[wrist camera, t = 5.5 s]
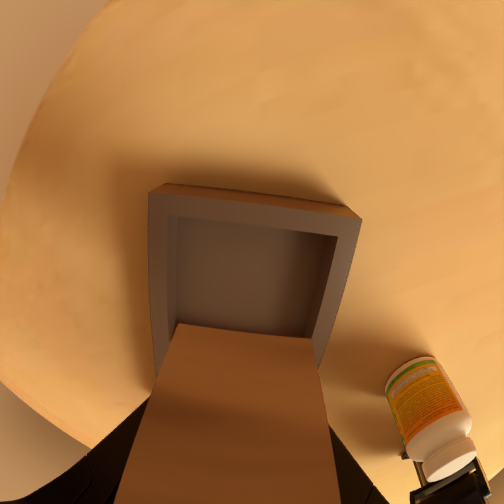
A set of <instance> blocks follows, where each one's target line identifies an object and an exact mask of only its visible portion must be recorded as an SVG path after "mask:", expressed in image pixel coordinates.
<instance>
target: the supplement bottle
mask: <svg viewBox="0 0 504 504" xmlns="http://www.w3.org/2000/svg"><path fill="white" fill-rule="evenodd" d="M385 394H386V397H387V400H388V403H389V405H390V408H391V410H392V413H393V416H394V418H395V421H396V424H397V426H398V429H399V432H400V435H401V437H402V440H403V443H404V446H405V449H406V452H407V454H408V456H409V458H410V459H412V460H413V461H416V462H424V463H423V464H422V468H423V472H424V475H425V478H426V480H427V481H428V482H434V481H438V480H440V479H443V478H445V477H448V476H450V475H452V474H453V473H455V472H457V471H458V470H460V469H461V468H463V467H464V466H466V465H467V464H468V463H469V462H470V461H472V460H473V459H474V457H475V456H476V455H477V450H476V447H475V445H474V442H473V440H471V438H470V437H466V436H467V435H468V433H469V431H470V429H471V426H472V419H471V416H470V414H469V412H468V410H467V408H466V407H465V405H464V403H463V401H462V399H461V398H460V396H459V394H458V393H457V391H456V389H455V387H454V386H453V384H452V382H451V380H450V379H449V377H448V375H447V374H446V372H445V371H444V369H443V367H442V366H441V364H440V363H439V362H438V360H436V359H435V358H433V357H419V358H416V359H413V360H411V361H409V362H407V363H405V364H404V365H402V366H401V367H399V368H398V369H397V370H396V371H395V372H394V373H393V374H392V375H391V377H390V378H389V380H388V381H387V383H386V386H385Z"/></svg>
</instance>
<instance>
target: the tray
mask: <svg viewBox="0 0 504 504" xmlns="http://www.w3.org/2000/svg"><path fill="white" fill-rule="evenodd" d="M361 223H362V219H361V218H360V217H359V216H358V215H357V214H356V213H354V212H353V211H352V210H351V209H350V208H349V207H348V206H342V205H336V204H330V203H324V202H318V201H312V200H305V199H298V198H292V197H285V196H277V195H270V194H263V193H255V192H247V191H238V190H230V189H221V188H211V187H201V186H191V185H180V184H168V183H165V184H163V185H161V186H159V187H158V188H156V189H154V190H152V191H150V192H149V197H148V272H149V296H150V313H151V327H152V338H153V349H154V359H155V368H156V376H157V377H158V374H159V372H160V369H161V366H162V364H163V361H164V359H165V356H166V353H167V351H168V348H169V346H170V343H171V341H172V338H173V336H174V333H175V331H176V328H177V326H178V323H182V324H188V325H195V326H201V327H208V328H215V329H222V330H230V331H238V332H246V333H255V334H264V335H274V336H284V337H296V338H308V339H311V340H312V345H313V350H314V354H315V359H316V364H317V369H318V368H319V365H320V363H321V360H322V357H323V354H324V351H325V348H326V346H327V343H328V340H329V337H330V334H331V331H332V328H333V325H334V321H335V318H336V315H337V312H338V309H339V305H340V302H341V299H342V295H343V292H344V288H345V285H346V281H347V278H348V274H349V271H350V267H351V263H352V259H353V256H354V252H355V248H356V244H357V240H358V236H359V231H360V227H361Z"/></svg>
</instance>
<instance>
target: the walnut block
mask: <svg viewBox="0 0 504 504" xmlns="http://www.w3.org/2000/svg"><path fill="white" fill-rule="evenodd" d="M114 504H341V500H340V493H339V486H338V480H337V473H336V467H335V461H334V455H333V449H332V443H331V437H330V432H329V426H328V421H327V415H326V410H325V405H324V399H323V394H322V389H321V384H320V379H319V374H318V369H317V364H316V359H315V354H314V350H313V345H312V340H311V339H308V338H296V337H284V336H274V335H264V334H255V333H246V332H238V331H230V330H222V329H215V328H208V327H201V326H195V325H188V324H182V323H178V326H177V328H176V331H175V333H174V336H173V338H172V341H171V343H170V346H169V348H168V351H167V353H166V356H165V359H164V361H163V364H162V366H161V369H160V372H159V374H158V377H157V379H156V382H155V385H154V387H153V390H152V393H151V395H150V398H149V401H148V404H147V406H146V409H145V412H144V415H143V417H142V420H141V423H140V426H139V429H138V431H137V434H136V437H135V440H134V443H133V446H132V449H131V452H130V455H129V457H128V460H127V463H126V466H125V469H124V472H123V476H122V479H121V482H120V485H119V488H118V491H117V494H116V497H115V501H114Z"/></svg>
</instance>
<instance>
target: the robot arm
mask: <svg viewBox="0 0 504 504" xmlns="http://www.w3.org/2000/svg"><path fill="white" fill-rule="evenodd" d="M149 398H150V396H149V397H148V398H147V399H146V400H145V401H144V402H143V403H142V404H141V405H140V406H139V407H138V408H137V409H136V410H135V411H133V412H132V413H131V414H130V415H129V416H128V417H127V418H126V419H125V420H124V421H123V422H122V423H121V424H119V425H118V426H117V427H116V428H115V429H114V430H113V431H112V432H111V433H110V434H108V435H107V436H106V437H105V438H104V439H103V440H102V441H101V442H100V443H99V444H97V445H96V446H95V447H94V448H93V449H92V450H91V451H90V452H88V453H87V456H84V457H83V458H82V459H80V460H79V461H78V462H77V463H76V464H75V465H73V466H72V467H71V468H70V469H68V470H67V471H66V472H64V473H63V474H61V475H60V476H59V477H57V478H56V479H54V480H53V481H51V482H50V483H48V484H46V485H44V486H43V487H41V488H39V489H38V490H36V491H34V492H33V493H31V494H29V495H28V496H26V497H24V498H21V499H17V500H13V501H3V502H0V504H114V501H115V497H116V494H117V491H118V488H119V485H120V482H121V479H122V476H123V472H124V469H125V466H126V463H127V460H128V457H129V455H130V452H131V449H132V446H133V443H134V440H135V437H136V434H137V431H138V429H139V426H140V423H141V420H142V417H143V415H144V412H145V409H146V406H147V404H148V401H149ZM328 426H329V432H330V437H331V443H332V449H333V455H334V461H335V467H336V473H337V480H338V486H339V493H340V500H341V504H389V502H388V501H387V500H386V499H385V498H384V496H383V495H382V494H381V493H380V492H379V490H378V489H377V488H376V486H373V483H372V481H371V480H370V479H369V477H368V476H367V475H366V474H365V472H364V471H363V470H362V468H361V467H360V466H359V464H358V463H357V462H356V460H355V459H354V458H353V456H352V455H351V454H350V452H349V451H348V450H347V448H346V447H345V446H344V444H343V443H342V442H341V440H340V439H339V438H338V436H337V435H336V433H335V432H334V431H333V429H332V428H331V427H330V425H329V424H328ZM401 458H402V460H404V459H409V456H408V454H407V452H405V453H404V454H403V455H402V456H401ZM413 463H414V466H415V469H416V472H417V475H418V478H419V481H420V484H421V488H419V489H417V490H414V491H412V492H410V504H489V502H488V499H487V498H488V497H490V496H491V495H492V493H491V489H490V486H489V483H488V480H487V477H486V475H485V472H484V470H483V467H482V465H481V463H480V461H479V459H478V458H477V457H476V456H475V457H474V459H473V460H472V461H470V462H469V463H468V464H467V465H466V466H464V467H463V468H461V469H460V470H458V471H457V472H455V473H453V474H452V475H450V476H448V477H445V478H443V479H440V480H438V481H434V482H428V481H427V480H426V478H425V475H424V472H423V468H422V464H423V463H424V462H416V461H413ZM475 468H476V471H474V472H473V473H471V471H472V470H473V469H475Z"/></svg>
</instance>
